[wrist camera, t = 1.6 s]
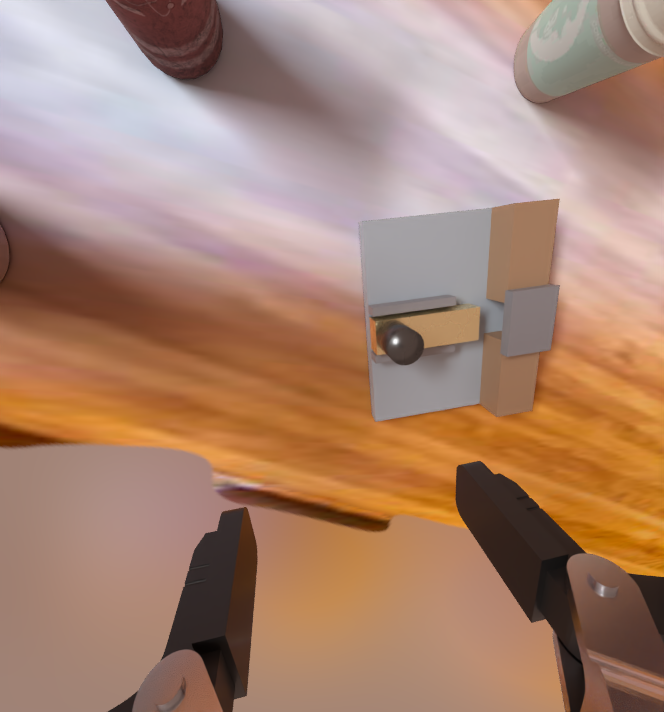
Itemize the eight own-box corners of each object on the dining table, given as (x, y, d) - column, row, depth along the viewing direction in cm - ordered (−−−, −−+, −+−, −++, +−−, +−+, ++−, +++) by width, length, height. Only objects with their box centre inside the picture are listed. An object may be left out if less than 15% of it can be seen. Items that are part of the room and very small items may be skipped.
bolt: (371, 348, 31) (389, 368, 25) (369, 317, 30) (387, 331, 24) (466, 334, 32) (502, 351, 27) (468, 303, 31) (505, 314, 25)
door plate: (371, 414, 35) (387, 443, 30) (358, 222, 28) (375, 216, 23) (505, 391, 37) (541, 415, 32) (522, 205, 30) (572, 196, 25)
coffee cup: (553, -35, 24) (785, -278, 13) (607, 58, 27) (838, -77, 16) (477, 65, 26) (628, -76, 15) (536, 145, 28) (701, 77, 17)
